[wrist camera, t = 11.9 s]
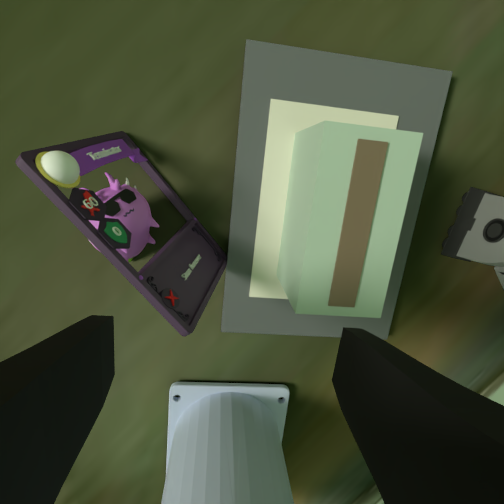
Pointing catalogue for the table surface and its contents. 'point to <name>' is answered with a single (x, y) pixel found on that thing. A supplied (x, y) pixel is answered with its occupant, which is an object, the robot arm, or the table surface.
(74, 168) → the game card
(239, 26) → the table surface
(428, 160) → the mat
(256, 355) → the table surface
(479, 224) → the figurine
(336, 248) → the mint slotted box
